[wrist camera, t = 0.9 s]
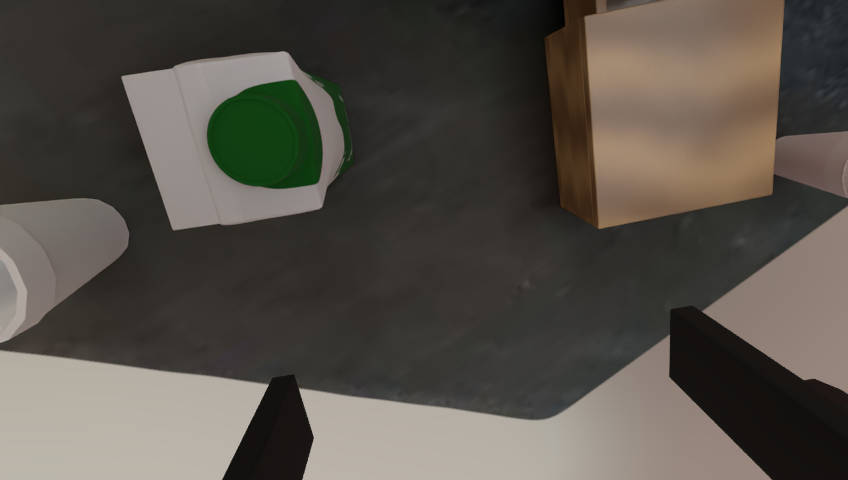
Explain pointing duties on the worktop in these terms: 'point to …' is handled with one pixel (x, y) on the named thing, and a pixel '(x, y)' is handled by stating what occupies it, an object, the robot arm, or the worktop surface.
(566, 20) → the drawer
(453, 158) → the worktop surface
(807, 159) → the smoothie
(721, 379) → the robot arm
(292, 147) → the milk carton
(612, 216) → the cabinet
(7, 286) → the foam cup
